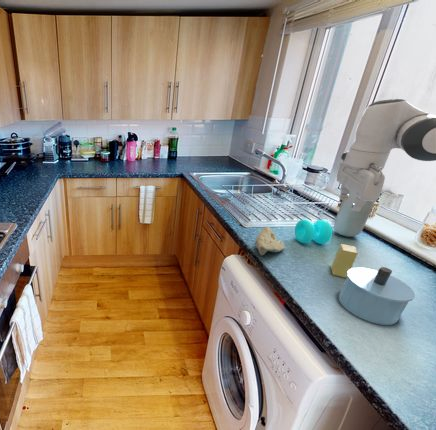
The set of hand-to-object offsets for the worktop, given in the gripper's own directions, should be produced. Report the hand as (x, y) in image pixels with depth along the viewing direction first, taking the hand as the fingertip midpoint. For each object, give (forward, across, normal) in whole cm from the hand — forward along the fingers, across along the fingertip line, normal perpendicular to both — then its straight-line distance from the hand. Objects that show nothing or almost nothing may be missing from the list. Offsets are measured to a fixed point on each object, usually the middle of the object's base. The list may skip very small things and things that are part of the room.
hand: (348, 204), depth 88 cm
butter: (+27, +4, -6) cm, 28 cm away
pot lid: (+18, -14, -8) cm, 24 cm away
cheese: (+26, +9, +16) cm, 32 cm away
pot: (+27, -14, -8) cm, 31 cm away
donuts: (+27, +25, -2) cm, 37 cm away
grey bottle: (+27, +38, -19) cm, 50 cm away
